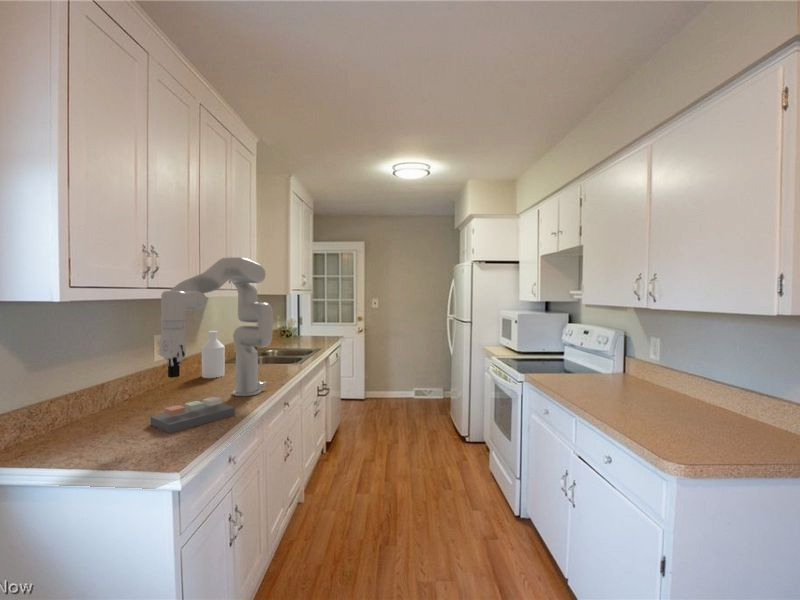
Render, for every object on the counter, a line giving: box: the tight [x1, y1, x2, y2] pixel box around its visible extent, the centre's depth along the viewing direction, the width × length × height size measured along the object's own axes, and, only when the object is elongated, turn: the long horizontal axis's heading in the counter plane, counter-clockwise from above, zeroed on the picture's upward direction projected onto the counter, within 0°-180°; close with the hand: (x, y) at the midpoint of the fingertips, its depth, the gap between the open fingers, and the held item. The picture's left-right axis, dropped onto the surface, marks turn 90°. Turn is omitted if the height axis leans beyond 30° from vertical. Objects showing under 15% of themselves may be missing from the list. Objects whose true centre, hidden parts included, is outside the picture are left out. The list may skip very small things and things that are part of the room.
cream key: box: [202, 396, 223, 406], centre depth 153 cm, size 5×5×2 cm
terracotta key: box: [163, 404, 185, 416], centre depth 142 cm, size 5×5×2 cm
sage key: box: [183, 400, 204, 411], centre depth 147 cm, size 5×5×2 cm
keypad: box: [150, 403, 236, 434], centre depth 148 cm, size 24×14×3 cm, turn 145°
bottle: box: [200, 330, 226, 379], centre depth 222 cm, size 12×12×25 cm
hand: (173, 376), depth 141 cm, fingers closed
